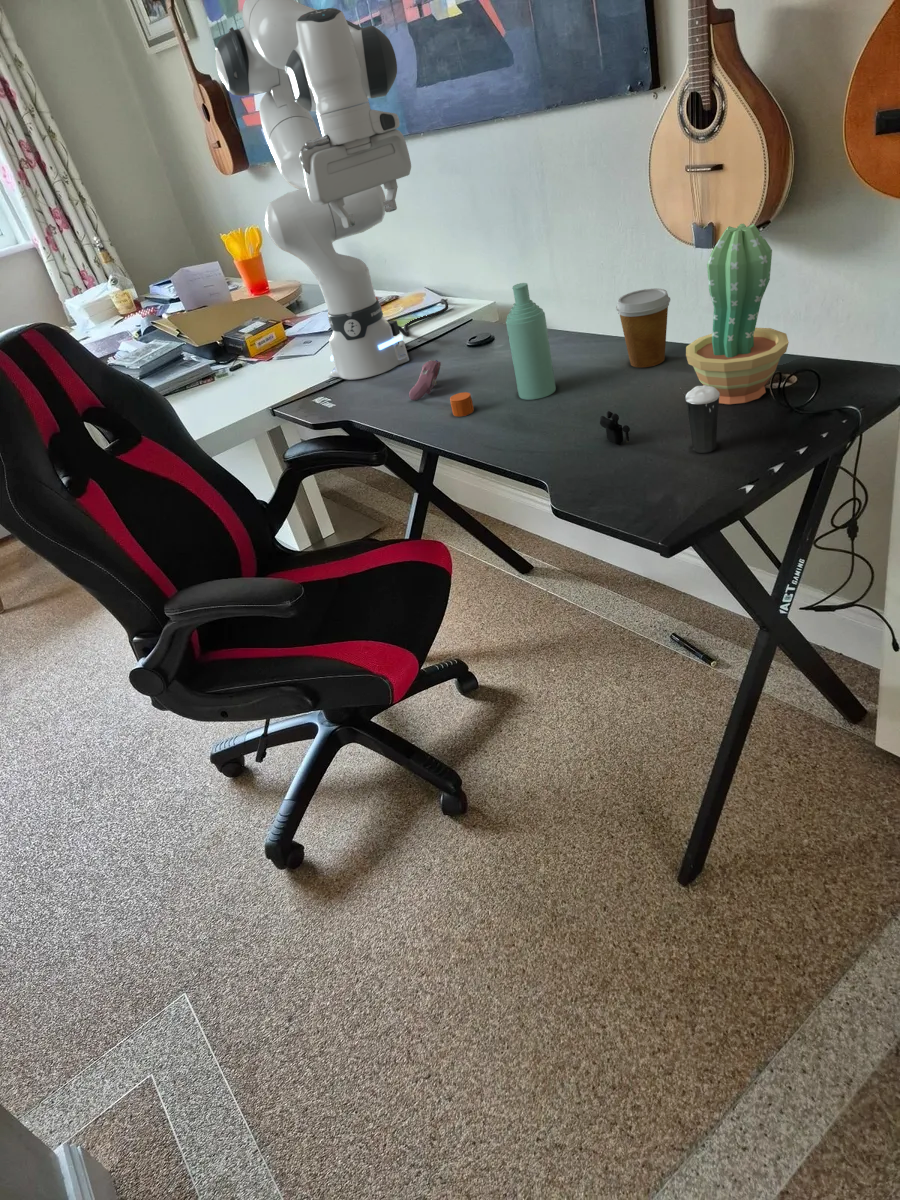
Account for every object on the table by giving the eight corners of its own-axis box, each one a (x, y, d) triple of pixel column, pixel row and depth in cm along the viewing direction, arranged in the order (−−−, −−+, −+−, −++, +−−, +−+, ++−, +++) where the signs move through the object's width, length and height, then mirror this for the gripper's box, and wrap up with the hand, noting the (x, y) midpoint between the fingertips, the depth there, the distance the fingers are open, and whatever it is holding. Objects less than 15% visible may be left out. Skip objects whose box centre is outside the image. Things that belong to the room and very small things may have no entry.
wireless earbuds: (633, 446, 118) (631, 415, 116) (620, 452, 118) (617, 421, 115) (605, 435, 124) (602, 405, 121) (593, 440, 123) (589, 410, 120)
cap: (476, 412, 144) (473, 396, 142) (456, 418, 143) (453, 402, 142) (470, 406, 147) (466, 390, 145) (450, 412, 147) (447, 396, 145)
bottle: (513, 392, 148) (494, 287, 137) (547, 381, 149) (531, 276, 138) (526, 403, 142) (508, 294, 131) (561, 391, 143) (546, 282, 132)
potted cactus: (809, 384, 123) (817, 213, 109) (739, 420, 118) (738, 246, 104) (733, 368, 134) (731, 212, 121) (666, 400, 129) (656, 241, 116)
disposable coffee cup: (680, 351, 146) (677, 286, 140) (663, 371, 140) (658, 303, 134) (632, 352, 151) (627, 289, 145) (613, 371, 145) (607, 306, 139)
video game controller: (428, 407, 156) (436, 374, 151) (407, 400, 156) (414, 367, 151) (438, 388, 163) (446, 357, 159) (418, 381, 163) (425, 350, 159)
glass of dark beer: (678, 447, 115) (674, 382, 109) (714, 438, 115) (712, 373, 109) (688, 459, 111) (685, 393, 106) (725, 450, 111) (724, 383, 105)
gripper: (306, 142, 122) (333, 236, 129) (405, 112, 131) (424, 202, 139) (286, 146, 126) (313, 236, 134) (383, 117, 135) (403, 203, 143)
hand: (370, 218), depth 136 cm, fingers open, 8 cm apart
